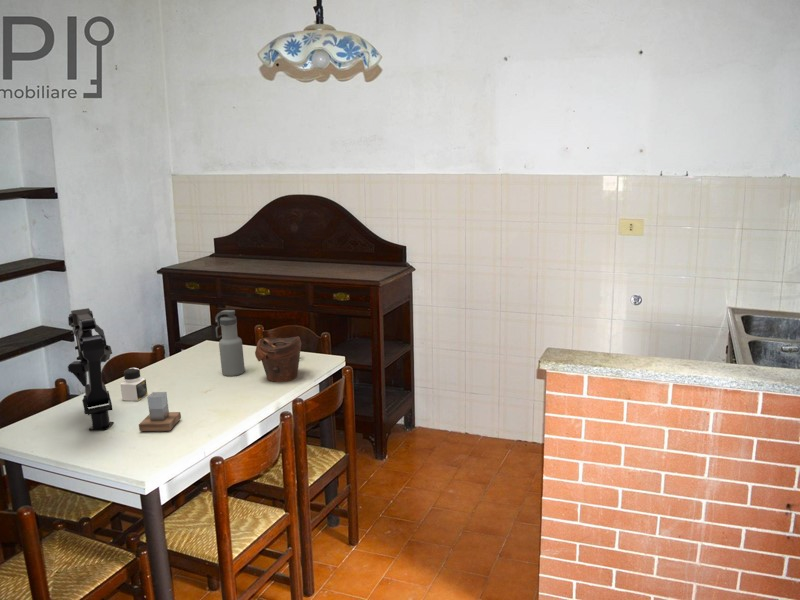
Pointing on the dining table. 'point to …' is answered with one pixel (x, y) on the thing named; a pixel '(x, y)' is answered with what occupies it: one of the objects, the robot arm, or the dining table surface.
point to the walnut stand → (160, 423)
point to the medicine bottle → (133, 385)
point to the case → (279, 357)
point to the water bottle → (230, 344)
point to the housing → (158, 406)
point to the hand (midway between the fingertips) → (91, 382)
